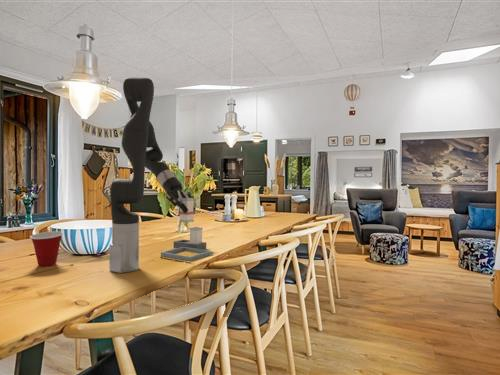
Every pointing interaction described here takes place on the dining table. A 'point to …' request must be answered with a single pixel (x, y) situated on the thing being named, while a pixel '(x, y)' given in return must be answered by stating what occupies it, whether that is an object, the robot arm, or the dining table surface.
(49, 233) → the plastic cup
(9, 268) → the dining table surface
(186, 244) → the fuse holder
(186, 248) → the tray
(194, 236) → the block
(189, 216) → the block
